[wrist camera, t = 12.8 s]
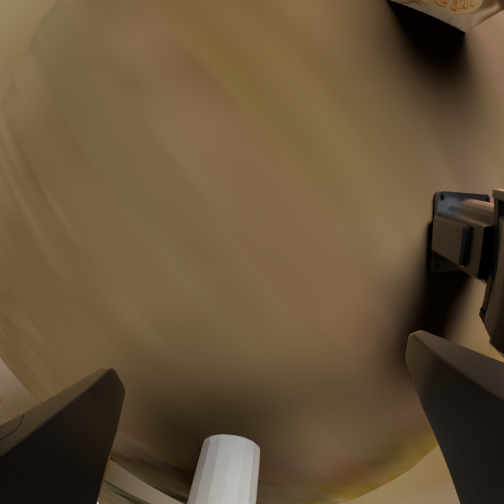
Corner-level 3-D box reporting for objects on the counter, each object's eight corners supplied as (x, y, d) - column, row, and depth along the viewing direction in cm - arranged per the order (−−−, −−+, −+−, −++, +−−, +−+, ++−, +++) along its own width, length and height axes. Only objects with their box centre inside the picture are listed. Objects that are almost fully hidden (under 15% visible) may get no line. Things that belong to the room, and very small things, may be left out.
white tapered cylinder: (258, 435, 25) (249, 530, 13) (261, 462, 27) (254, 541, 15) (198, 432, 26) (172, 519, 14) (208, 459, 28) (190, 533, 16)
